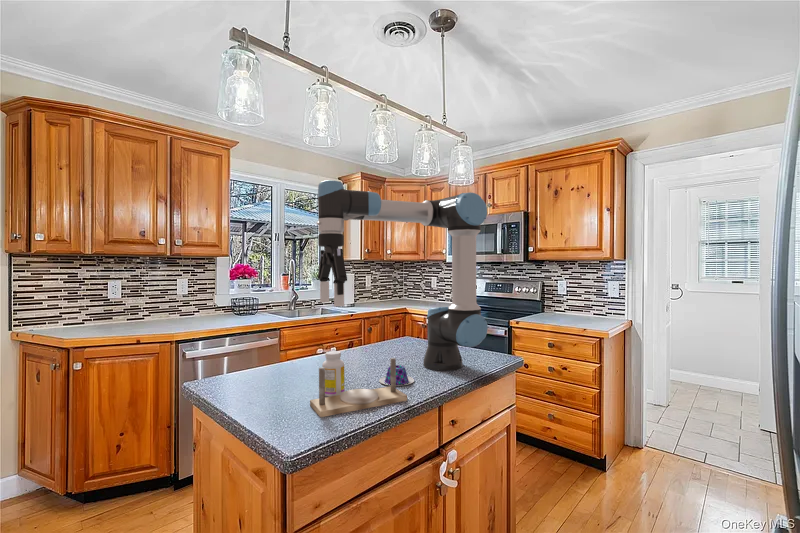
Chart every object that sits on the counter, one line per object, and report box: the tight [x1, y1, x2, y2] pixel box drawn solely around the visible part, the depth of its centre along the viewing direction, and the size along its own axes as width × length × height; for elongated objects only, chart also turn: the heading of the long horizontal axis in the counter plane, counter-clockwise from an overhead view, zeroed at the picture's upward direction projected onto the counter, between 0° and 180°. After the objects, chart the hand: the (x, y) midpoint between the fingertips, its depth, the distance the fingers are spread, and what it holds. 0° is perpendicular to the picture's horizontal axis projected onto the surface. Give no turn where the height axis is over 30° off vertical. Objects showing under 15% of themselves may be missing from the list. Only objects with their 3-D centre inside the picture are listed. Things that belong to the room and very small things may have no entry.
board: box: [309, 357, 408, 418], centre depth 114 cm, size 26×11×12 cm, turn 118°
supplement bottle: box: [322, 350, 346, 397], centre depth 122 cm, size 7×7×13 cm
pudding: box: [378, 364, 415, 387], centre depth 135 cm, size 12×12×5 cm
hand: (331, 304), depth 119 cm, fingers open, 13 cm apart
